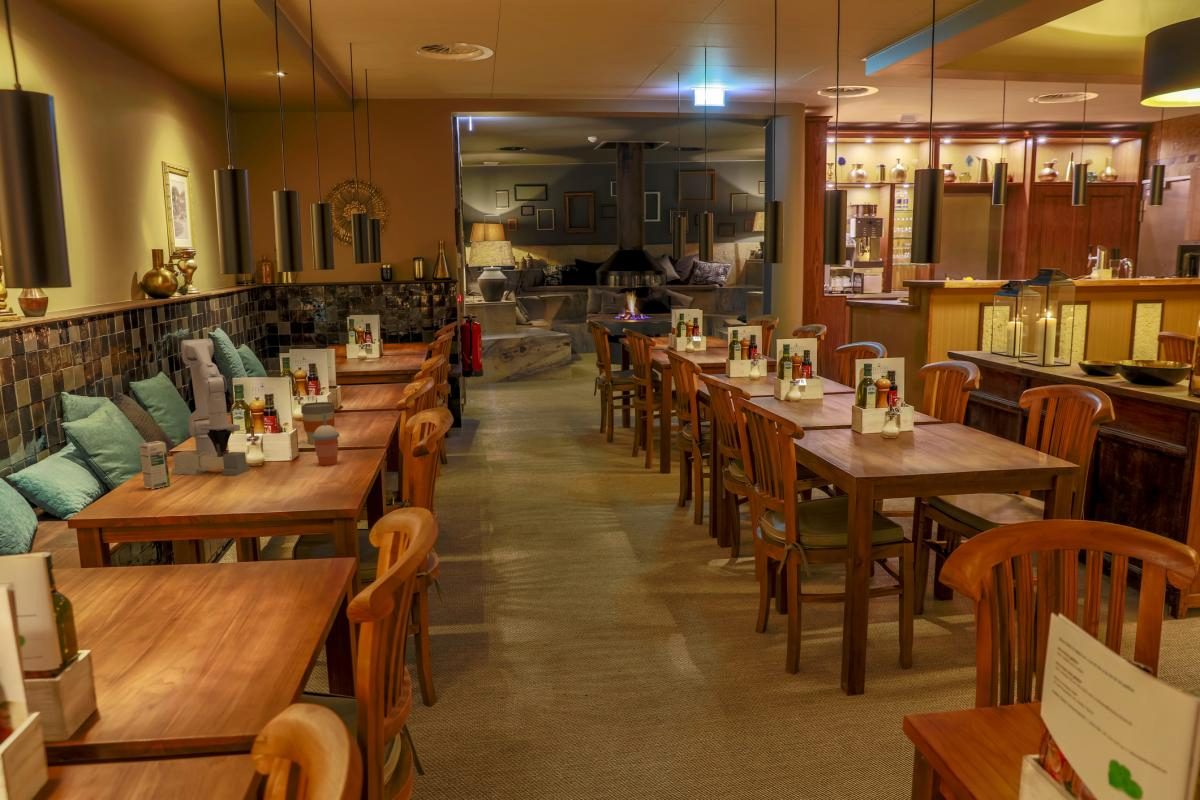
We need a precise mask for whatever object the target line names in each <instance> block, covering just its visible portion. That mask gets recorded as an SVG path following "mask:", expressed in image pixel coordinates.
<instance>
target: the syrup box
mask: <svg viewBox="0 0 1200 800" xmlns="http://www.w3.org/2000/svg"><path fill="white" fill-rule="evenodd" d="M167 453H168V452H167V445H166V442H164V441H161V440H155V441H151V442H144V443H139V454H140V461H141V462H140V463H141V468H142V471H141V472H142V478H143V486H146V487H149V488H158V489H160V488H159V487H163V488H165V487H164V486H168V487H170V486H171V480H170V479H171V478H170V472H169V464H168V455H167Z"/></svg>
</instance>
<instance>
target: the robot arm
mask: <svg viewBox="0 0 1200 800" xmlns="http://www.w3.org/2000/svg"><path fill="white" fill-rule="evenodd" d="M180 350H181V356H182V357H181V358H182V361H183V363H184V364H186V365H188V367H189V369H190V373H191V382H192V389H193V397H194V404H195V410H194V411H193V412H192V413H191V414H190V415H189V417H188V430H189V435H190V436H191V437H192V438H194V442H195V451H207V455H217V447H216V444H218V443H220V450H221V452H225V451H226V452H227V448H228V443H229V439H230V436H231V434H233V433H232V432H239V431H241V425H240V424H233V423H229V421H228V412H227V401H226V394H225V393H227V389H228V385H227V381H226V380H227V379H226V378H225V376H224V375H223V374H221V373H220V370H219V369H218V366H217V364H215V363H214V362H212V358H213V355H214V353H215V348H214V342H213V340H212V338H211V337H208V338H199V339H198V338H197V339H183V340H182V341H181V342H180Z"/></svg>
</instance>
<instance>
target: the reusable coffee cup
mask: <svg viewBox="0 0 1200 800" xmlns="http://www.w3.org/2000/svg"><path fill="white" fill-rule="evenodd" d="M300 409H301V411H300V413H301V414H302V425H303V428H304V432H305V433H306V437H307V441H308V442H307V444H308V445H313V444H315V440H314V439H313V438H312V435H313V434H314V432H315V430H316V429H317V428H318V427H320V426H322V425H324V422H323V413H326V425H330V426H332V427H334V428H335V421H336V420H335V409H336V408H335V403H333V402H329V401H328V402H327V401H322V402H321V401H320V402H311V403H310V402H309V403H305V404H302V405H301V407H300Z"/></svg>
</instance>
